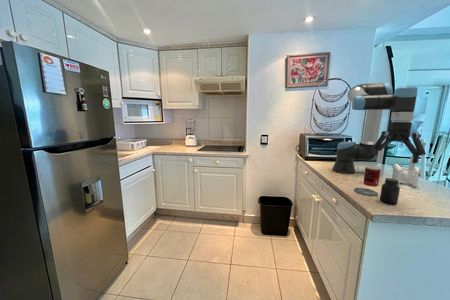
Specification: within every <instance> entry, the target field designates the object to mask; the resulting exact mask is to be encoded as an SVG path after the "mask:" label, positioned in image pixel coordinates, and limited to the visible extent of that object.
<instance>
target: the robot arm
mask: <svg viewBox="0 0 450 300" xmlns="http://www.w3.org/2000/svg"><path fill="white" fill-rule="evenodd" d="M417 97H418V87H417V86H415V85H414V86H413V85H410V86H400V87H396V88H395V90H394V93H393V86H392V84H391V83H390V82H376V83H375V82H374V83H362V84H357V85H355V86H353V87H351V88H350V89H349V90H348V92H347V99H348V100H349V101H350V102H351V109H352V110H353V111H366V115H365V116H366V117H365V120H364V121H365V122H364V123H365V124H364V129H363V135H362V139H361V140H360V141H359V143H357V142H356V141H341V142H338V144H337V147H336V158H335V159H336V160H335V162H334V164H333V166H332V172H334V173H338V174H343V175H355V174H356V168H355V164H354V161H355V160H361V161H376V164H382V163H383V160H384V149H385V148H386V147H387V146H389V144H391V143H392V142H398V143H402V144H404V145H405V146H406V147H407V149H408V150H409V152H410V153H411V155H410V158H409V164H408V167H407V168H408V170H414V169H415V166H416V164H418V163H419V160H420V156H425V155H426V154H427V153H426V151H425V148H424V146H423V144H422V141H421V139H420V133H419V132H413V133H412V132H411V130H412V128H413V122H412V121H413V120H414V114H415V109H416V103H417ZM384 110H386V111H387V110H388V111H391V116H390V123H389V128H388V129H389V131H388V130H383V131H382V132H381V135H380V136H379V133H380V129H381V123H382V117H383V112H384ZM388 136H389V137H388ZM387 137H388V138H387ZM410 138H412V139H410ZM411 140H412V141H411ZM412 142H413V143H412Z"/></svg>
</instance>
